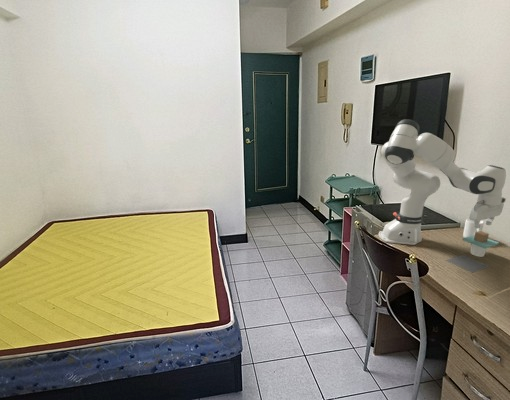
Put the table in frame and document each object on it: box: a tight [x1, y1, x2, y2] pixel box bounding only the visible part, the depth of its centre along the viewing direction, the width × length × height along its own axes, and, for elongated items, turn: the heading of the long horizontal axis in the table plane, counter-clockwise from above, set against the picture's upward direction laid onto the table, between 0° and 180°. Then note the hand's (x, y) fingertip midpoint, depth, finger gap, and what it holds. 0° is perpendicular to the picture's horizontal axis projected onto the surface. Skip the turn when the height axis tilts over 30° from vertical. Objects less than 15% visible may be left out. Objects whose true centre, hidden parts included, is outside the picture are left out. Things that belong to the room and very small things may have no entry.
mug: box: [462, 217, 485, 238], centre depth 178 cm, size 12×8×10 cm
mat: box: [445, 254, 490, 274], centre depth 153 cm, size 13×13×1 cm
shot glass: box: [470, 243, 488, 258], centre depth 161 cm, size 7×7×7 cm
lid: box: [461, 230, 500, 250], centre depth 159 cm, size 11×11×5 cm
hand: (482, 226), depth 158 cm, fingers open, 8 cm apart
